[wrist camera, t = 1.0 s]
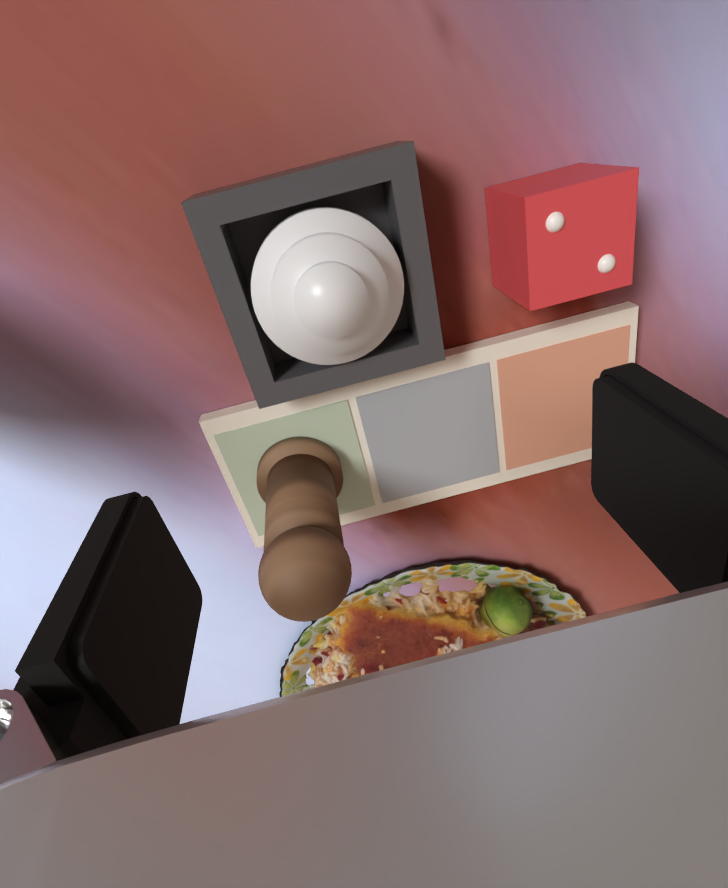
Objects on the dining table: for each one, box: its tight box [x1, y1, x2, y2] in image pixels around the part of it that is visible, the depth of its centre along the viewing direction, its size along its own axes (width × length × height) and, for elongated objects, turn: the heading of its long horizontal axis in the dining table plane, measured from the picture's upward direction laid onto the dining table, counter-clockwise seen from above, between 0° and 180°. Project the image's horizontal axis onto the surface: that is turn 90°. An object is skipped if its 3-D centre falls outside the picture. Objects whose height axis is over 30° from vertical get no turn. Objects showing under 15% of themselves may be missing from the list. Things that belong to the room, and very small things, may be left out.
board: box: [199, 301, 639, 548], centre depth 32 cm, size 10×26×1 cm, turn 103°
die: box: [485, 163, 639, 311], centre depth 25 cm, size 5×5×5 cm
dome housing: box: [181, 141, 446, 409], centre depth 25 cm, size 10×10×4 cm
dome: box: [251, 206, 404, 365], centre depth 23 cm, size 7×7×3 cm
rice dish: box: [280, 560, 588, 697], centre depth 44 cm, size 28×28×5 cm
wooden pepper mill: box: [257, 436, 352, 622], centre depth 27 cm, size 5×5×11 cm
